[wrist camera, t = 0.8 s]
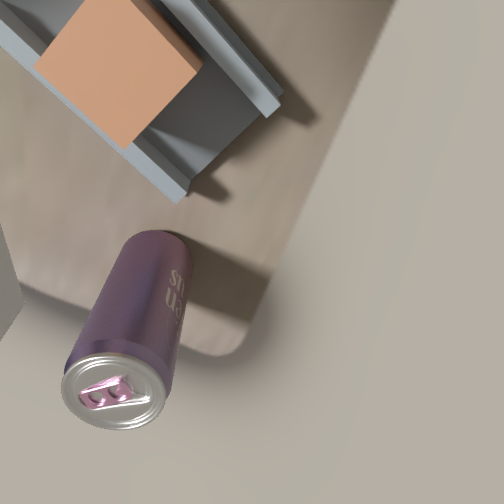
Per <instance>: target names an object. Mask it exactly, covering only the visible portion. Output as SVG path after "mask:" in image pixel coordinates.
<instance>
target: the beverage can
mask: <svg viewBox="0 0 504 504" xmlns="http://www.w3.org/2000/svg"><path fill="white" fill-rule="evenodd" d="M192 270H193V259H192V255H191V253H190V251H189V249H188V247H187V246H186V245H185V244H184V243H183V242H182V241H181V240H180V239H179V238H177V237H176V236H174V235H172V234H170V233H167V232H163V231H157V230H149V231H143V232H140V233H138V234H136V235H134V236H132V237H131V238H130V239H128V240H127V242H126V243H125V244H124V246H123V248H122V250H121V252H120V254H119V256H118V258H117V260H116V262H115V264H114V266H113V268H112V270H111V272H110V274H109V276H108V278H107V280H106V282H105V284H104V286H103V288H102V290H101V292H100V294H99V297H98V299H97V301H96V303H95V305H94V307H93V309H92V311H91V313H90V315H89V317H88V319H87V321H86V323H85V325H84V327H83V329H82V331H81V333H80V336H79V337H78V340H77V341H76V343H75V346H74V348H73V350H72V352H71V354H70V356H69V358H68V360H67V362H66V365H65V369H64V376H63V379H62V383H61V394H62V397H63V400H64V402H65V404H66V406H67V407H68V408H69V410H70V411H71V412H72V413H73V414H75V415H76V416H77V417H78V418H80V419H81V420H83V421H85V422H86V423H89V424H91V425H93V426H96V427H100V428H104V429H109V430H129V429H134V428H138V427H141V426H144V425H146V424H148V423H150V422H151V421H152V420H154V419H155V418H156V417H157V416H158V415H159V414H160V412H161V411H162V409H163V407H164V405H165V401H166V399H167V397H168V395H169V394H170V391H171V387H172V381H173V376H174V370H175V364H176V359H177V352H178V348H179V342H180V337H181V331H182V325H183V320H184V314H185V309H186V303H187V298H188V292H189V286H190V281H191V275H192Z"/></svg>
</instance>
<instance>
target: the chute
mask: <svg viewBox="0 0 504 504" xmlns="http://www.w3.org/2000/svg"><path fill="white" fill-rule="evenodd" d="M84 1H85V0H0V46H1V47H2V48H3V49H5V50H6V51H7V52H8V53H9V54H10V55H11V56H12V57H13V58H14V59H16V60H17V61H18V62H19V63H20V64H21V65H22V66H23V67H24V68H26V69H27V70H28V71H29V72H30V73H31V74H32V75H33V76H34V77H35V78H37V79H38V80H39V81H40V82H41V83H42V84H43V85H44V86H45V87H47V88H48V89H49V90H50V91H51V92H52V93H53V94H54V95H55V96H56V97H58V98H59V99H60V100H61V101H62V102H63V103H64V104H65V105H66V106H68V107H69V108H70V109H71V110H72V111H73V112H74V113H75V114H76V115H77V116H79V117H80V118H81V119H82V120H83V121H84V122H85V123H86V124H87V125H89V126H90V127H91V128H92V129H93V130H94V131H95V132H96V133H97V134H98V135H100V136H101V137H102V138H103V139H104V140H105V141H106V142H107V143H108V144H110V145H111V146H112V147H113V148H114V149H115V150H116V151H117V152H118V153H119V154H121V155H122V156H123V157H124V158H125V159H126V160H127V161H128V162H129V163H131V164H132V165H133V166H134V167H135V168H136V169H137V170H138V171H139V172H140V173H142V174H143V175H144V176H145V177H146V178H147V179H148V180H149V181H150V182H152V183H153V184H154V185H155V186H156V187H157V188H158V189H159V190H160V191H161V192H163V193H164V194H165V195H166V196H167V197H168V198H169V199H170V200H171V201H173V202H174V203H175V204H176V203H177V202H178V201H179V200H181V199H182V198H183V197H184V196H185V195H186V194H187V192H188V189H189V185H190V182H191V180H192V179H193V178H194V177H195V176H196V175H197V174H198V173H199V172H201V171H202V170H203V169H204V168H205V167H206V166H207V165H208V164H209V163H210V162H211V161H212V160H213V159H214V158H215V157H216V156H217V155H218V154H219V153H221V152H222V151H223V150H224V149H225V148H226V147H227V146H228V145H229V144H230V143H231V142H232V141H233V140H234V139H235V138H236V137H237V136H238V135H239V134H240V133H242V132H243V131H244V130H245V129H246V128H247V127H248V126H249V125H250V124H251V123H252V122H253V121H254V120H255V119H256V118H257V117H258V116H259V115H260V114H263V115H264V116H265V117H266V118H268V117H269V116H270V115H271V114H272V113H273V112H274V111H275V110H276V109H277V108H278V107H279V106H280V105H281V104H280V102H279V100H278V97H279V96H280V95H281V94H283V93H284V90H283V89H282V87H281V86H280V85H279V84H278V83H277V82H276V80H275V79H274V78H273V77H272V76H271V74H270V73H269V72H268V71H267V70H266V69H265V67H264V66H263V65H262V64H261V63H260V62H259V60H258V59H257V58H256V57H255V56H254V54H253V53H252V52H251V51H250V50H249V49H248V47H247V46H246V45H245V44H244V43H243V42H242V40H241V39H240V38H239V37H238V36H237V34H236V33H235V32H234V31H233V30H232V29H231V27H230V26H229V25H228V24H227V23H226V22H225V20H224V19H223V18H222V17H221V16H220V14H219V13H218V12H217V11H216V10H215V9H214V7H213V6H212V5H211V4H210V3H209V2H208V0H150V1H151V2H152V3H153V4H154V5H155V6H156V8H157V9H158V10H159V11H160V12H161V13H162V14H163V15H164V16H165V17H166V19H167V20H168V21H169V22H170V23H171V24H172V25H173V26H174V27H175V28H176V30H177V31H178V32H179V33H180V34H181V35H182V36H183V37H184V38H185V40H186V41H187V42H188V43H189V44H190V45H191V46H192V47H193V48H194V49H195V51H196V52H197V53H198V54H199V55H200V56H201V57H202V58H203V59H204V60H205V62H204V63H203V65H202V66H201V68H200V69H199V71H198V72H197V74H196V75H195V76H194V77H193V78H192V79H191V80H190V81H189V82H188V83H187V84H186V85H185V86H184V87H183V88H182V89H181V91H180V92H179V93H178V94H177V95H176V96H175V97H174V98H173V99H172V100H171V101H170V102H169V103H168V104H167V105H166V106H165V107H164V108H163V110H162V111H161V112H160V113H159V114H158V115H157V116H156V117H155V118H154V119H153V120H152V121H151V122H150V123H149V124H148V125H147V126H146V127H145V129H144V130H143V131H142V132H141V133H140V134H139V135H138V136H137V137H136V138H135V139H134V140H133V141H132V142H131V143H130V144H129V145H128V146H127V147H126V149H125V150H123V149H122V148H121V147H120V146H119V145H118V144H117V143H116V142H115V141H113V140H112V139H111V138H110V137H109V136H108V135H107V134H106V133H105V132H104V131H102V130H101V129H100V128H99V127H98V126H97V125H96V124H95V123H94V122H93V121H91V120H90V119H89V118H88V117H87V116H86V115H85V114H84V113H83V112H82V111H81V110H79V109H78V108H77V107H76V106H75V105H74V104H73V103H72V102H71V101H70V100H68V99H67V98H66V97H65V96H64V95H63V94H62V93H61V92H60V91H59V90H58V89H56V88H55V87H54V86H53V85H52V84H51V83H50V82H49V81H48V80H47V79H45V78H44V77H43V76H42V75H41V74H40V73H39V72H38V71H37V70H36V69H35V68H33V66H34V65H35V63H36V62H37V61H38V59H39V58H40V57H41V56H42V54H43V53H44V52H45V51H46V49H47V48H48V47H49V45H50V44H51V43H52V42H53V40H54V39H55V38H56V37H57V35H58V34H59V33H60V31H61V30H62V29H63V28H64V26H65V25H66V24H67V22H68V21H69V20H70V19H71V17H72V16H73V15H74V14H75V12H76V11H77V10H78V8H79V7H80V6H81V5H82V3H83V2H84Z"/></svg>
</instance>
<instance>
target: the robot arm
mask: <svg viewBox="0 0 504 504" xmlns="http://www.w3.org/2000/svg"><path fill="white" fill-rule="evenodd" d="M24 305H25V302H24V299H23V296H22V293H21V289H20V286H19V283H18V280H17V276H16V273H15V270H14V267H13V263H12V260H11V257H10V253H9V250H8V247H7V244H6V240H5V237H4V234H3V231H2V227H1V224H0V341H1V339H2V338H3V336H4V335H5V333H6V332H7V330H8V329H9V327H10V326H11V324H12V323H13V321H14V320H15V318H16V316H17V315H18V314H19V312H20V311H21V309H22V308H23V306H24Z"/></svg>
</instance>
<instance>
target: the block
mask: <svg viewBox="0 0 504 504" xmlns="http://www.w3.org/2000/svg"><path fill="white" fill-rule="evenodd" d="M204 62H205V60H204V59H203V58H202V57H201V56H200V55H199V54H198V53H197V52H196V51H195V49H194V48H193V47H192V46H191V45H190V44H189V43H188V42H187V41H186V40H185V38H184V37H183V36H182V35H181V34H180V33H179V32H178V31H177V30H176V28H175V27H174V26H173V25H172V24H171V23H170V22H169V21H168V20H167V19H166V17H165V16H164V15H163V14H162V13H161V12H160V11H159V10H158V9H157V8H156V6H155V5H154V4H153V3H152V2H151V1H150V0H85V1H84V2H83V3H82V5H81V6H80V7H79V8H78V10H77V11H76V12H75V14H74V15H73V16H72V17H71V19H70V20H69V21H68V22H67V24H66V25H65V26H64V28H63V29H62V30H61V31H60V33H59V34H58V35H57V37H56V38H55V39H54V40H53V42H52V43H51V44H50V45H49V47H48V48H47V49H46V51H45V52H44V53H43V54H42V56H41V57H40V58H39V59H38V61H37V62H36V63H35V65H34V66H33V68H35V69H36V70H37V71H38V72H39V73H40V74H41V75H42V76H43V77H44V78H45V79H47V80H48V81H49V82H50V83H51V84H52V85H53V86H54V87H55V88H56V89H58V90H59V91H60V92H61V93H62V94H63V95H64V96H65V97H66V98H67V99H68V100H70V101H71V102H72V103H73V104H74V105H75V106H76V107H77V108H78V109H79V110H81V111H82V112H83V113H84V114H85V115H86V116H87V117H88V118H89V119H90V120H91V121H93V122H94V123H95V124H96V125H97V126H98V127H99V128H100V129H101V130H102V131H104V132H105V133H106V134H107V135H108V136H109V137H110V138H111V139H112V140H113V141H115V142H116V143H117V144H118V145H119V146H120V147H121V148H122V149H123V150H125V149H126V147H127V146H128V145H129V144H130V143H131V142H132V141H133V140H134V139H135V138H136V137H137V136H138V135H139V134H140V133H141V132H142V131H143V130H144V129H145V127H146V126H147V125H148V124H149V123H150V122H151V121H152V120H153V119H154V118H155V117H156V116H157V115H158V114H159V113H160V112H161V111H162V110H163V108H164V107H165V106H166V105H167V104H168V103H169V102H170V101H171V100H172V99H173V98H174V97H175V96H176V95H177V94H178V93H179V92H180V91H181V89H182V88H183V87H184V86H185V85H186V84H187V83H188V82H189V81H190V80H191V79H192V78H193V77H194V76H195V75H196V74H197V72H198V71H199V69H200V68H201V66H202V65H203V63H204Z"/></svg>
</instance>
